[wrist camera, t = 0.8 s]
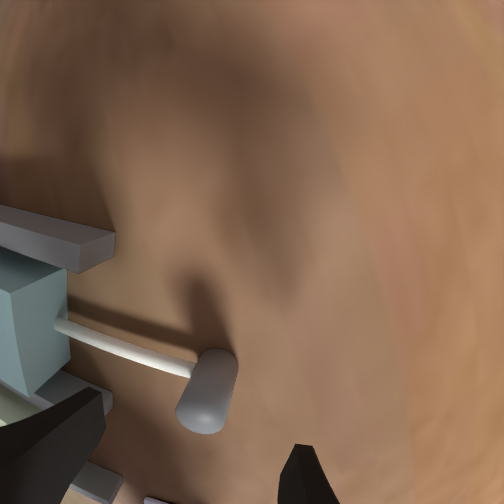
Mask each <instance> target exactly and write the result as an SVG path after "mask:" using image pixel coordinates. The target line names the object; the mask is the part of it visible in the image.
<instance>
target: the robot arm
mask: <svg viewBox="0 0 504 504" xmlns="http://www.w3.org/2000/svg"><path fill="white" fill-rule="evenodd" d="M105 428H106V423H105V415H104V407H103V397H102V392H100V391H98V390H96V389H93V388H91V387H87V388H85V389H83V390H81V391H79V392H77V393H75V394H74V395H72V396H70V397H68V398H66V399H65V400H63V401H61V402H59V403H57V404H55V405H53V406H51V407H49V408H47V409H45V410H43V411H41V412H39V413H37V414H34V415H32V416H30V417H27V418H25V419H22V420H20V421H17V422H14V423H11V424H8V425H4V426H1V427H0V504H60V503H61V501H62V499H63V497H64V495H65V493H66V491H67V489H68V488H69V486H70V484H71V483H72V481H73V480H74V479H75V477H76V476H77V474H78V473H79V471H80V470H81V468H82V467H83V466H84V464H85V463H86V461H87V460H88V458H89V457H90V455H91V454H92V453H93V451H94V450H95V448H96V447H97V445H98V443H99V441H100V439H101V437H102V435H103V432H104V430H105ZM144 504H168V503H165V502H162V501H159V500H156V499H153V498H149V497H146V498H145V499H144ZM278 504H340V503H339V501H338V499H337V497H336V496H335V494H334V492H333V490H332V488H331V486H330V484H329V482H328V480H327V478H326V476H325V474H324V472H323V470H322V467H321V465H320V463H319V460H318V458H317V455H316V453H315V450H314V448H313V447H312V446H309V445H301V444H295V446H294V448H293V450H292V452H291V454H290V456H289V458H288V460H287V462H286V464H285V466H284V468H283V470H282V472H281V474H280V481H279V489H278Z"/></svg>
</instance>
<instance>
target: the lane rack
mask: <svg viewBox="0 0 504 504" xmlns="http://www.w3.org/2000/svg"><path fill="white" fill-rule="evenodd" d="M115 236H116V232H112V231H108V230H103V229H99V228H95V227H91V226H87V225H82V224H78V223H74V222H70V221H66V220H62V219H57V218H53V217H49V216H45V215H41V214H37V213H33V212H29V211H25V210H21V209H17V208H13V207H9V206H5V205H1V204H0V246H2V247H4V248H7V249H10V250H12V251H15V252H18V253H20V254H23V255H26V256H29V257H31V258H34V259H37V260H40V261H43V262H46V263H48V264H51V265H54V266H57V267H60V268H63V269H66V270H69V271H72V272H75V273H78V274H80V273H82V272H84V271H86V270H88V269H90V268H92V267H94V266H96V265H98V264H100V263H102V262H104V261H106V260H108V259H110V258H112V257H114V246H115ZM0 384H2V385H3V386H5V387H6V388H8V389H9V390H11V391H12V392H14V393H15V394H17V395H18V396H20V397H22V398H23V399H25V400H26V401H28V402H30V403H31V404H33V405H35V406H36V407H38V408H40V409H42V410H45V409H47V408H49V407H51V406H53V405H55V404H57V403H59V402H61V401H63V400H65V399H66V398H68V397H70V396H72V395H74V394H75V393H77V392H79V391H81V390H83V389H85V388H87V387H91V388H93V389H96V390H98V391H100V392H102V397H103V407H104V415H105V417H106V415H107V414H108V412H109V411H110V410H111V408H112V407H113V395H112V392H110V391H108V390H105V389H103V388H101V387H98V386H96V385H93V384H91V383H89V382H86V381H84V380H82V379H80V378H77V377H75V376H73V375H71V374H69V373H67V372H64V371H62V370H60V369H59V370H58V371H57V372H56V373H55V374H54V375H53V376H52V377H50V378H49V379H48V380H47V381H46V382H45V383H44V384H43V385H42V386H41V387H40V388H39V389H37V390H36V391H35V392H34V393H33V394H32V395H31V396H30V397H27V396H25V395H24V394H22V393H21V392H19V391H18V390H16V389H14V388H13V387H11V386H10V385H8V384H7V383H5V382H4V381H2V380H1V379H0ZM122 483H123V480H122V476H121V475H119V474H117V473H114V472H112V471H109V470H107V469H105V468H102V467H100V466H98V465H96V464H94V463H91V462H89V461H86V463H85V464H84V466H83V467H82V468H81V470H80V471H79V473H78V474H77V476H76V477H75V479H74V480H73V481H72V483H71V484H70V486H69V488H71V489H73V490H74V491H76V492H78V493H80V494H82V495H84V496H86V497H89V498H91V499H93V500H95V501H97V502H99V503H102V504H112V503H113V501H114V499H115V497H116V495H117V493H118V491H119V489H120V487H121V485H122Z"/></svg>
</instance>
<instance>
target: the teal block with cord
mask: <svg viewBox="0 0 504 504" xmlns="http://www.w3.org/2000/svg"><path fill="white" fill-rule="evenodd" d="M69 336H70V337H73V338H75V339H77V340H80V341H82V342H85V343H87V344H90V345H92V346H95V347H97V348H100V349H102V350H105V351H108V352H110V353H113V354H116V355H118V356H121V357H124V358H127V359H130V360H133V361H135V362H138V363H141V364H144V365H147V366H150V367H154V368H157V369H160V370H163V371H166V372H170V373H173V374H176V375H180V376H183V377H187V378H190V379H189V382H188V384H187V386H186V388H185V390H184V392H183V394H182V396H181V398H180V401H179V403H178V405H177V407H176V416H177V419H178V420H179V422H180V423H181V424H182V425H183V426H184V427H186V428H187V429H189V430H191V431H193V432H196V433H200V434H213V433H216V432H218V431H220V430H221V429H222V428H223V426H224V424H225V420H226V416H227V412H228V408H229V404H230V400H231V397H232V393H233V389H234V385H235V381H236V377H237V373H238V362H237V360H236V358H235V357H234V356H233V355H232V354H231V353H230V352H228V351H226V350H223V349H219V348H213V349H209V350H206V351H205V352H204V353H203V354H202V355H201V356H200V358H199V360H198V362H197V365H196V363H193V362H190V361H186V360H183V359H179V358H176V357H172V356H169V355H166V354H162V353H159V352H156V351H153V350H149V349H146V348H143V347H140V346H137V345H134V344H131V343H128V342H125V341H122V340H119V339H117V338H114V337H111V336H108V335H105V334H103V333H100V332H97V331H95V330H92V329H89V328H87V327H84V326H82V325H79V324H77V323H74V322H72V321H69V320H68V310H67V270H66V269H63V268H60V267H57V266H54V265H51V264H48V263H46V262H43V261H40V260H37V259H34V258H31V257H29V256H26V255H23V254H20V253H18V252H15V251H12V250H10V249H7V248H4V247H2V246H0V379H1V380H2V381H4V382H5V383H7V384H8V385H10V386H11V387H13V388H14V389H16V390H18V391H19V392H21V393H22V394H24V395H25V396H27V397H30V396H31V395H32V394H33V393H34V392H35V391H36V390H37V389H39V388H40V387H41V386H42V385H43V384H44V383H45V382H46V381H47V380H48V379H49V378H50V377H52V376H53V375H54V374H55V373H56V372H57V371H58V370H59V369H60V368H61V367H63V366H64V365H65V364H66V363H67V362H68V361H69V360H70V359H71V354H70V343H69Z"/></svg>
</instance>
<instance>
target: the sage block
mask: <svg viewBox="0 0 504 504" xmlns="http://www.w3.org/2000/svg"><path fill="white" fill-rule="evenodd" d="M41 411H43V410H42V409H40V408H38V407H36V406H35V405H33V404H31V403H30V402H28V401H26V400H25V399H23V398H22V397H20V396H18V395H17V394H15V393H14V392H12V391H11V390H9V389H8V388H6V387H5V386H3V385H2V384H0V427H1V426H4V425H8V424H11V423H14V422H17V421H20V420H22V419H25V418H27V417H30V416H32V415H34V414H37V413H39V412H41Z"/></svg>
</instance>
